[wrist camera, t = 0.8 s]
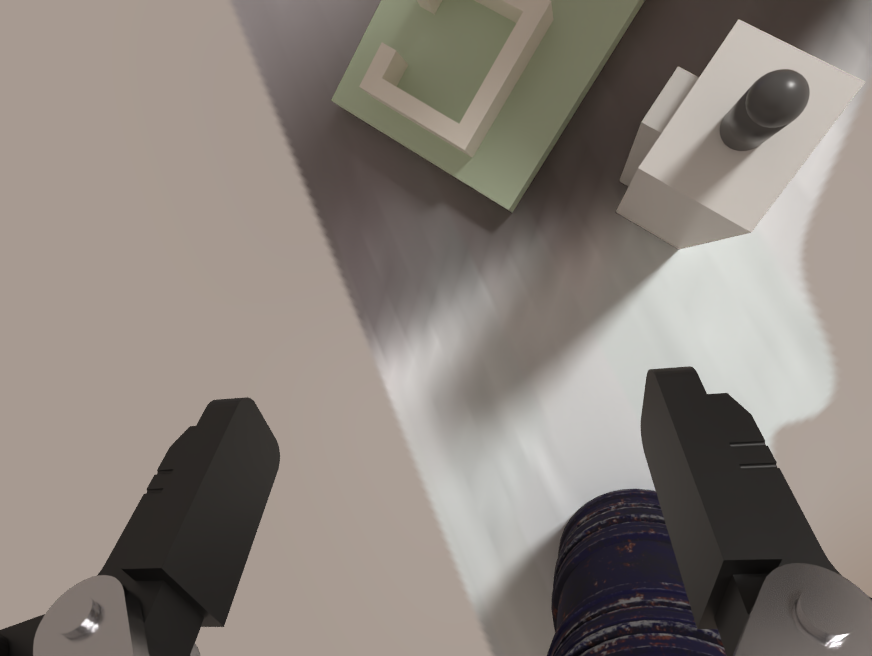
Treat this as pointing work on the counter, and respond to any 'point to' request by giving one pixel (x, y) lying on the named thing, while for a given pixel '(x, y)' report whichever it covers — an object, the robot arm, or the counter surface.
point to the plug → (730, 138)
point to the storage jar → (623, 584)
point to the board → (481, 81)
